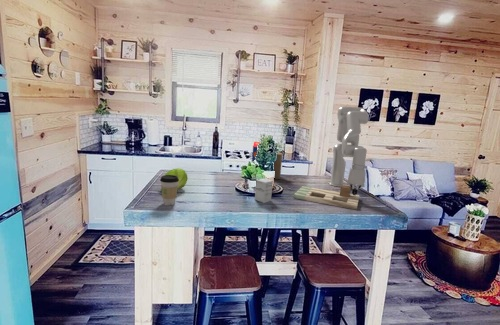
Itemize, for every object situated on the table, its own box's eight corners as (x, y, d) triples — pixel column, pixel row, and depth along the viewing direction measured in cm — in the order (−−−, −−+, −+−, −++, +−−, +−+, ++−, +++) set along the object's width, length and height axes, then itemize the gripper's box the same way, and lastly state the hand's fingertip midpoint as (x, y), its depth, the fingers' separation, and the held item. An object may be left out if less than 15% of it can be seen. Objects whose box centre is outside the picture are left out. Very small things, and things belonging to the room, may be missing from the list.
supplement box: (254, 200, 181) (255, 179, 179) (261, 197, 187) (263, 178, 184) (263, 203, 177) (265, 182, 174) (271, 200, 182) (273, 180, 180)
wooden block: (279, 179, 235) (281, 154, 231) (266, 178, 237) (268, 153, 233) (280, 176, 245) (282, 152, 241) (268, 175, 247) (270, 151, 243)
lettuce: (161, 194, 179) (162, 172, 177) (163, 185, 199) (163, 165, 196) (188, 194, 183) (188, 172, 181) (186, 185, 202) (187, 165, 200)
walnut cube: (340, 193, 199) (341, 184, 198) (349, 195, 197) (351, 186, 196) (339, 195, 194) (340, 186, 193) (349, 197, 192) (350, 188, 190)
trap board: (302, 189, 213) (302, 185, 212) (358, 198, 199) (359, 195, 198) (293, 198, 191) (294, 194, 190) (356, 209, 177) (357, 205, 176)
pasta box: (251, 176, 239) (254, 141, 234) (261, 177, 239) (264, 142, 234) (250, 185, 212) (253, 146, 206) (261, 186, 212) (264, 147, 206)
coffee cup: (163, 199, 170) (163, 174, 167) (180, 201, 170) (181, 175, 167) (157, 205, 160) (157, 178, 158) (175, 207, 160) (176, 179, 157)
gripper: (370, 167, 191) (366, 195, 194) (346, 164, 196) (342, 191, 199) (370, 169, 184) (366, 198, 187) (345, 166, 189) (341, 194, 192)
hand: (354, 194), depth 193 cm, fingers closed
